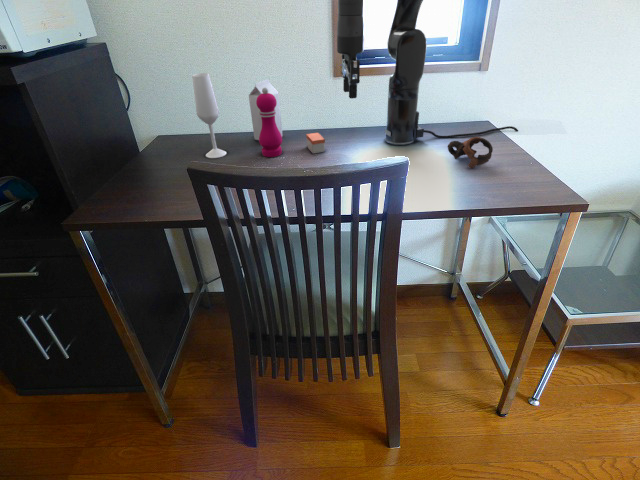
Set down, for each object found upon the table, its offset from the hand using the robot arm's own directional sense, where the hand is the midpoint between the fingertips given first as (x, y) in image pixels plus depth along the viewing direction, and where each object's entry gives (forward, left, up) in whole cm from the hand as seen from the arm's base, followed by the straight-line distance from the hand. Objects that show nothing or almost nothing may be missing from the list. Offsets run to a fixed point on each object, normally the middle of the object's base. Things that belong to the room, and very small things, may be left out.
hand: (349, 94), depth 116 cm
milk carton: (+23, -20, -17) cm, 34 cm away
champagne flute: (+42, -12, -17) cm, 46 cm away
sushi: (+11, -3, -17) cm, 20 cm away
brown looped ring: (-26, +25, -17) cm, 40 cm away
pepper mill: (+25, -5, -17) cm, 30 cm away
